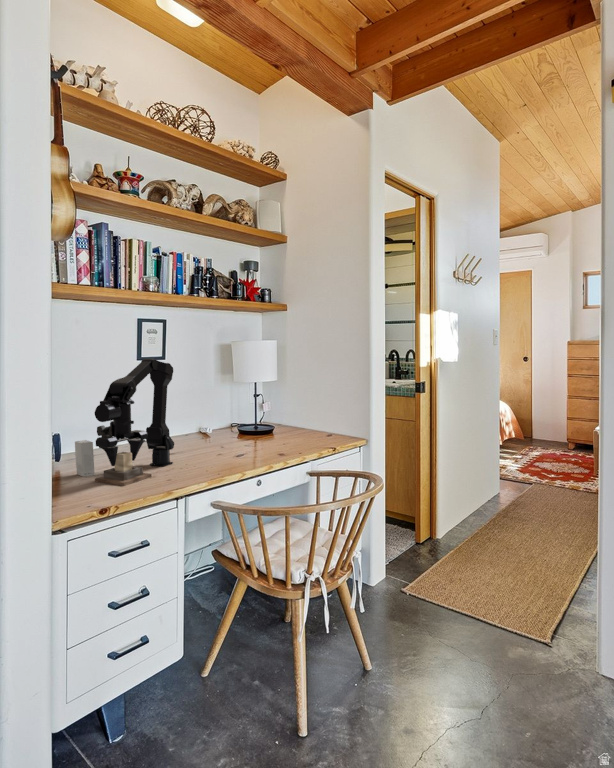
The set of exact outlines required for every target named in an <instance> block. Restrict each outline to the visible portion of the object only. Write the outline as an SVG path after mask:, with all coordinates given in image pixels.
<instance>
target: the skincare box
mask: <svg viewBox="0 0 614 768" xmlns="http://www.w3.org/2000/svg"><path fill="white" fill-rule="evenodd" d="M74 453H75V467H76V469H75V470H76V475H78V476H81V477H83V478H86V477H92V476H95V474H96V473H95V460H94V459H95V458H94V457H95V456H94V442H93V441H92V440H91V441H90V440H87V439H83V440H77V441H74Z"/></svg>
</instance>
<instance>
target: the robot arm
mask: <svg viewBox="0 0 614 768" xmlns="http://www.w3.org/2000/svg"><path fill="white" fill-rule="evenodd" d="M173 374H174V367H173V366H172V364H171V363H169V362H164V361H160V360H157V359H155V358H144V359H141V362H140V363H138V365H136V366H135V367H134V368H133V369H132V370H131V371H130V372H129V373H128V374H127V375H125V376H124V377H120V378H117V379H116V380H114V381H112V382H110V384H109V387H108V389H107V391H106V394H105V396H104V398H103V400H99V404H98V405H97V406H96V407H95V410H94V416H95V418H96V420H97V421H98V422H100V423H106V422H109V421H110V423H109V426H105V425H103V424H102V425H99V426H96V435H97V436H98V437H97V438H96V439H95V447H98V449H102V450H103V451H104V452H105V454H106V456H107V458H108V460H109V463H110V466H111V467H115V463H116V457H117V453H118V451H119V446H117V445H118V443H119V442H124V441H126V442H127V443H128V444H129V449H130V452H129V453H132V462H134V461H135V460H136V458H137V456H138V454H139V452H140V450H141V447H142V446H143V444H144V443H145V442H146V444H147V448H148V450H152V454H151V460H152V462H151V463H149V466H155V467H165V466H168V465H171V464H174V461H171V460H170V459H171V458H170V453H171V451H172V450H173V449H174V448H175V442H174V440H173V439H172V438H171V436H170V429H169V427H168V425H167V423H166V417H167V400H168V399H167V397H168V386H169V384H170V383H171V382H172V380H173ZM147 376H149V378H150V380H151V383H152V384H153V396H152V397H153V401H152V415H151V416H152V419H151V424H150V425H149V426H147V427H146V429H145V430H141V429H139V430H138V429H134V430H132V425H133V424H135V421H134V420H132V405H133V404H134V405H135V401H134V400H133V399H132V398H133V396H134V395H135V394H136V391H137V386H138V385H140V383H141V382H142V381H144V379H145V378H147ZM170 450H171V451H170Z"/></svg>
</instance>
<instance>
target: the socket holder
mask: <svg viewBox="0 0 614 768" xmlns="http://www.w3.org/2000/svg"><path fill="white" fill-rule="evenodd" d="M152 476H153V475H152V473H148V472H144V468H143V467H142V466H141V467H140V466H133V465H132V470H129V471H125V472H120V471H115V467H113V468H108V469H105V470H103V475H102V476H100V477H96V478H94V483H95V482H96V483H102V484H110V485H116V486H123V487H126V486H128V485H131V484H134V483H137V482H139V481H143V480H147V479H149V478H152Z"/></svg>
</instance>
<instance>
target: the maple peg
mask: <svg viewBox="0 0 614 768" xmlns="http://www.w3.org/2000/svg"><path fill="white" fill-rule="evenodd" d="M132 466H133V461H132V453H130V452H129V451H128V452H127V451H122V452H117V457H116V463H115V466H114V468H115V471H120V472H125V471H129V470H132Z"/></svg>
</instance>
